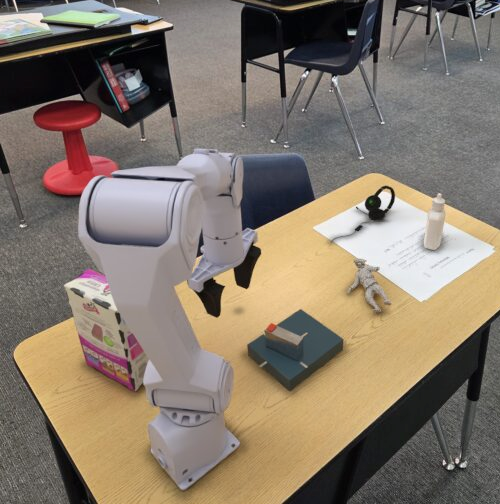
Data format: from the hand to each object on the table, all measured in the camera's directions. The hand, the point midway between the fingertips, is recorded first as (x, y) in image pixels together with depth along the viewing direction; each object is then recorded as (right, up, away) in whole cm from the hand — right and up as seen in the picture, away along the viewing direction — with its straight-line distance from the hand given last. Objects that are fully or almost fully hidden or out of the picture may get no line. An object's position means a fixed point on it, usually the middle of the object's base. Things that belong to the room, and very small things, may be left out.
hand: (228, 299), depth 86 cm
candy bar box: (-17, -11, 0) cm, 20 cm away
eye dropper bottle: (+39, +7, +29) cm, 49 cm away
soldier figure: (+24, -2, +16) cm, 29 cm away
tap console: (+11, -9, +3) cm, 14 cm away
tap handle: (+9, -8, 0) cm, 12 cm away
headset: (+24, +11, +36) cm, 45 cm away
